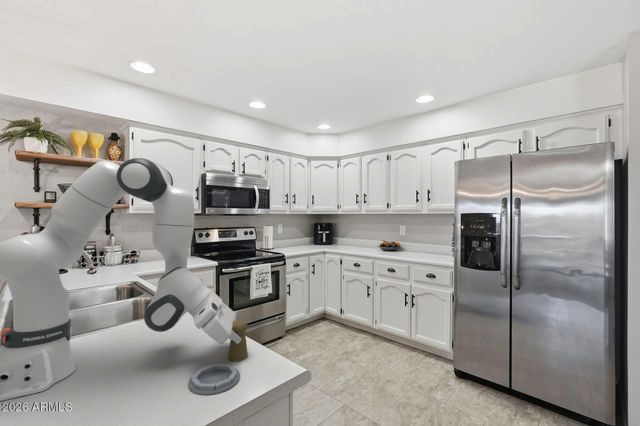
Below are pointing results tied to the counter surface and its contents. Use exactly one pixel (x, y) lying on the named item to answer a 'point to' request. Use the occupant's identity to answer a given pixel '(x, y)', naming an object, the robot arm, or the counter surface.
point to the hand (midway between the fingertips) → (240, 337)
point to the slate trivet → (214, 379)
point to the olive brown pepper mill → (239, 350)
